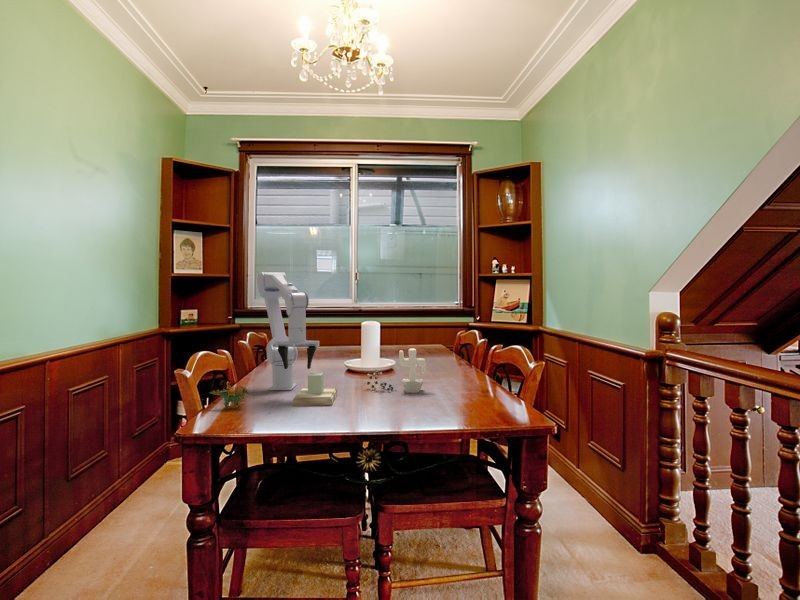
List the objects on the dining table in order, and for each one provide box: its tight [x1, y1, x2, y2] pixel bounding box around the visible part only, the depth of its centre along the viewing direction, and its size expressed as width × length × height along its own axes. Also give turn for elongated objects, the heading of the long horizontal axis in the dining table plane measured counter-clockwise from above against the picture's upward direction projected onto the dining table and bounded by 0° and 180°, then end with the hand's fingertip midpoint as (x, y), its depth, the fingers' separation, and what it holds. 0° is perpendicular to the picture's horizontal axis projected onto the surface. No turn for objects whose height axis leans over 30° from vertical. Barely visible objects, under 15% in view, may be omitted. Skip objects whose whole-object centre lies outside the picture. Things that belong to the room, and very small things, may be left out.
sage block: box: [307, 372, 325, 394], centre depth 147 cm, size 4×4×6 cm
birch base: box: [292, 386, 338, 407], centre depth 148 cm, size 14×12×2 cm
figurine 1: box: [209, 381, 249, 410], centre depth 138 cm, size 3×12×8 cm, turn 90°
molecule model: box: [363, 368, 398, 393], centre depth 161 cm, size 6×12×8 cm, turn 71°
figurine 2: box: [398, 347, 427, 394], centre depth 159 cm, size 7×9×15 cm
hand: (297, 368), depth 153 cm, fingers open, 7 cm apart
